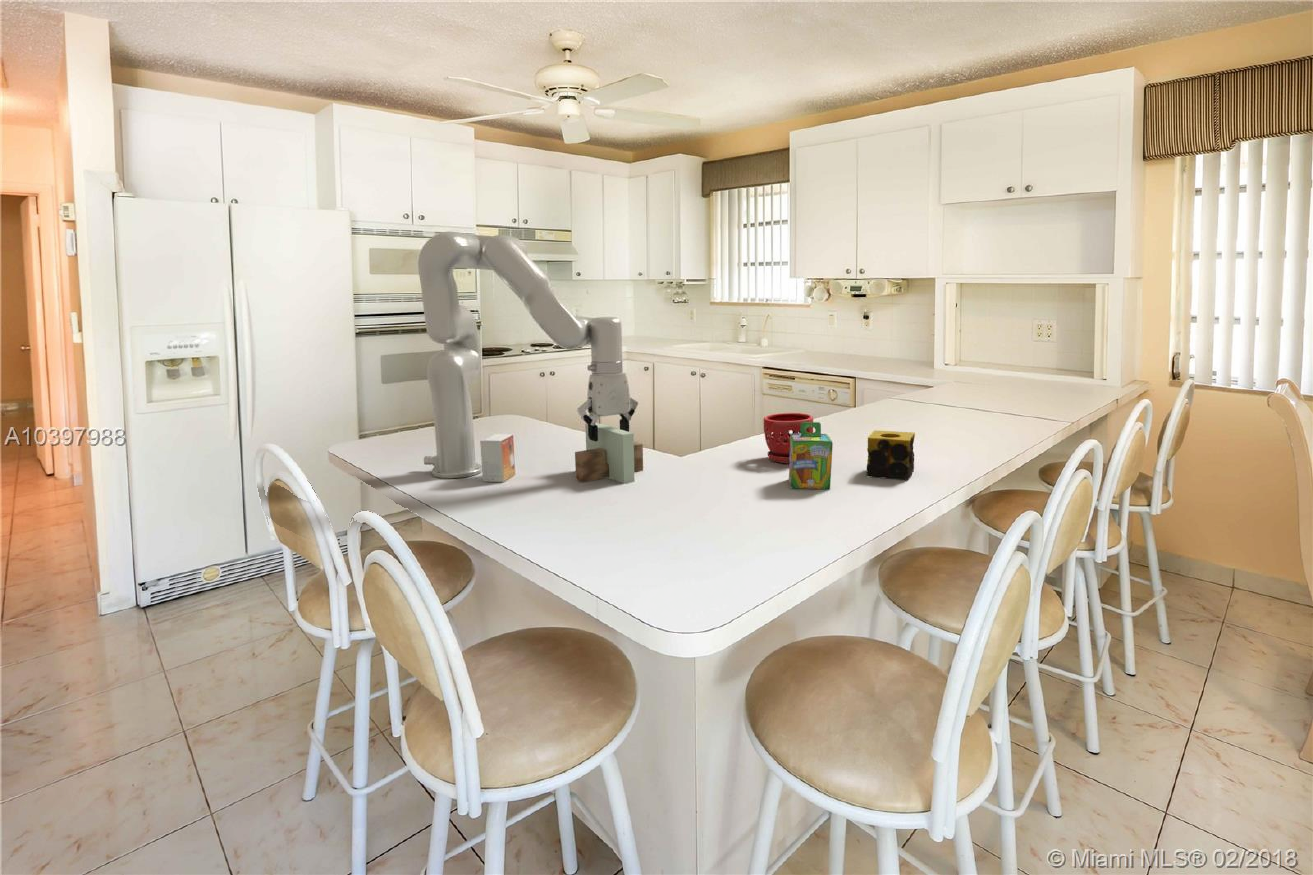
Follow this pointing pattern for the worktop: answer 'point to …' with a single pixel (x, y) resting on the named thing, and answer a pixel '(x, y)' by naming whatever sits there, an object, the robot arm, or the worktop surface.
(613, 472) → the green board
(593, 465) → the walnut board
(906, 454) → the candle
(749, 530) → the worktop surface
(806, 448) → the chalk box
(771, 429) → the plant pot
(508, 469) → the small box
